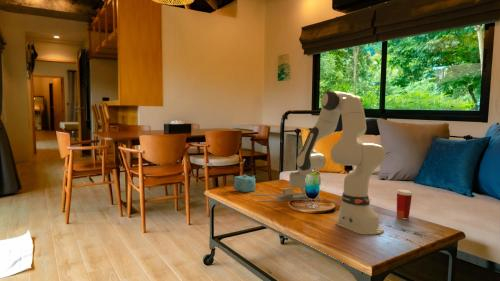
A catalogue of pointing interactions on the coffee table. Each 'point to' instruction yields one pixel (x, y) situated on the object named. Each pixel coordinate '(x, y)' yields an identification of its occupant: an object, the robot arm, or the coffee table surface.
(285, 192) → the cube
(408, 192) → the glass of red beer
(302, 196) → the strip
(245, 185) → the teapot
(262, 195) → the lane rails
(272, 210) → the coffee table surface
